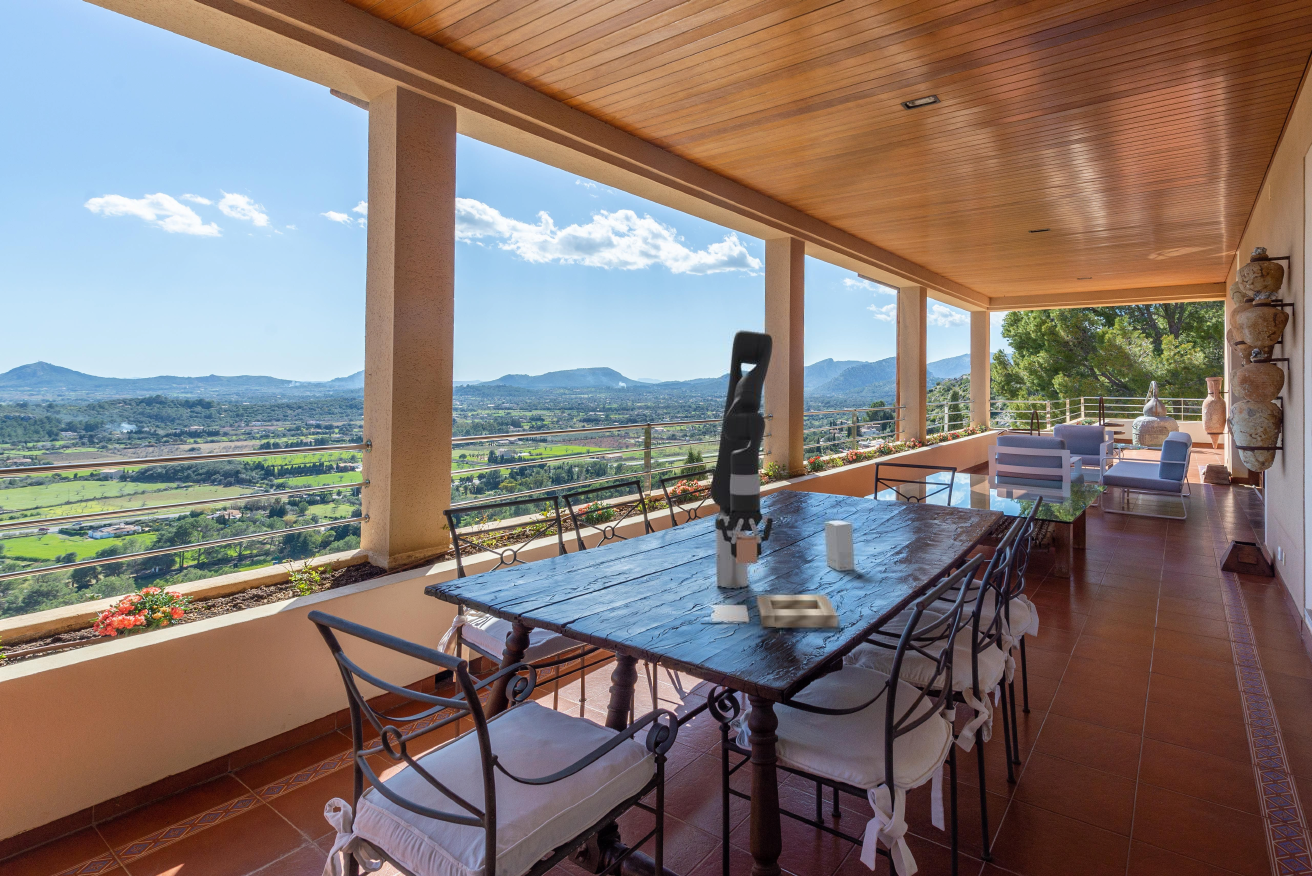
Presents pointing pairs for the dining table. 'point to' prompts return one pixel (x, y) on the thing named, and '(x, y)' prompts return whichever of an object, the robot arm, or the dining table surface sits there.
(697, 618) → the dining table surface
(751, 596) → the dining table surface
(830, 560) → the skincare box
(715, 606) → the mat
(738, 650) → the dining table surface
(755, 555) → the block
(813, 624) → the pocket plate
